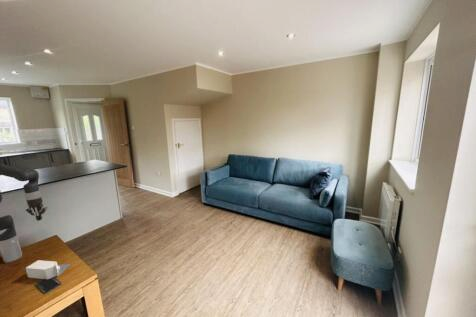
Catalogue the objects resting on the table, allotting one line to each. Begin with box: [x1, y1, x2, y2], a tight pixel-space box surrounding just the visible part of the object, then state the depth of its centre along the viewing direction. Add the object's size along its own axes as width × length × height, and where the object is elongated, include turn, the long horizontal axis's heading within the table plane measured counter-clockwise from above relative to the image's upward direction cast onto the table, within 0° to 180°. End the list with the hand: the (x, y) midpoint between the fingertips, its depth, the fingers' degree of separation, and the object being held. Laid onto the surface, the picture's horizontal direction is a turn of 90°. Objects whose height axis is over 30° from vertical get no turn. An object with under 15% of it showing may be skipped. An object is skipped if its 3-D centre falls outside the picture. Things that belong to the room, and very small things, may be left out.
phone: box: [35, 276, 62, 294], centre depth 118 cm, size 8×1×15 cm
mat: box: [57, 263, 72, 276], centre depth 130 cm, size 16×10×1 cm, turn 95°
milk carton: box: [25, 259, 60, 280], centre depth 125 cm, size 7×7×19 cm
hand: (39, 220), depth 141 cm, fingers closed
